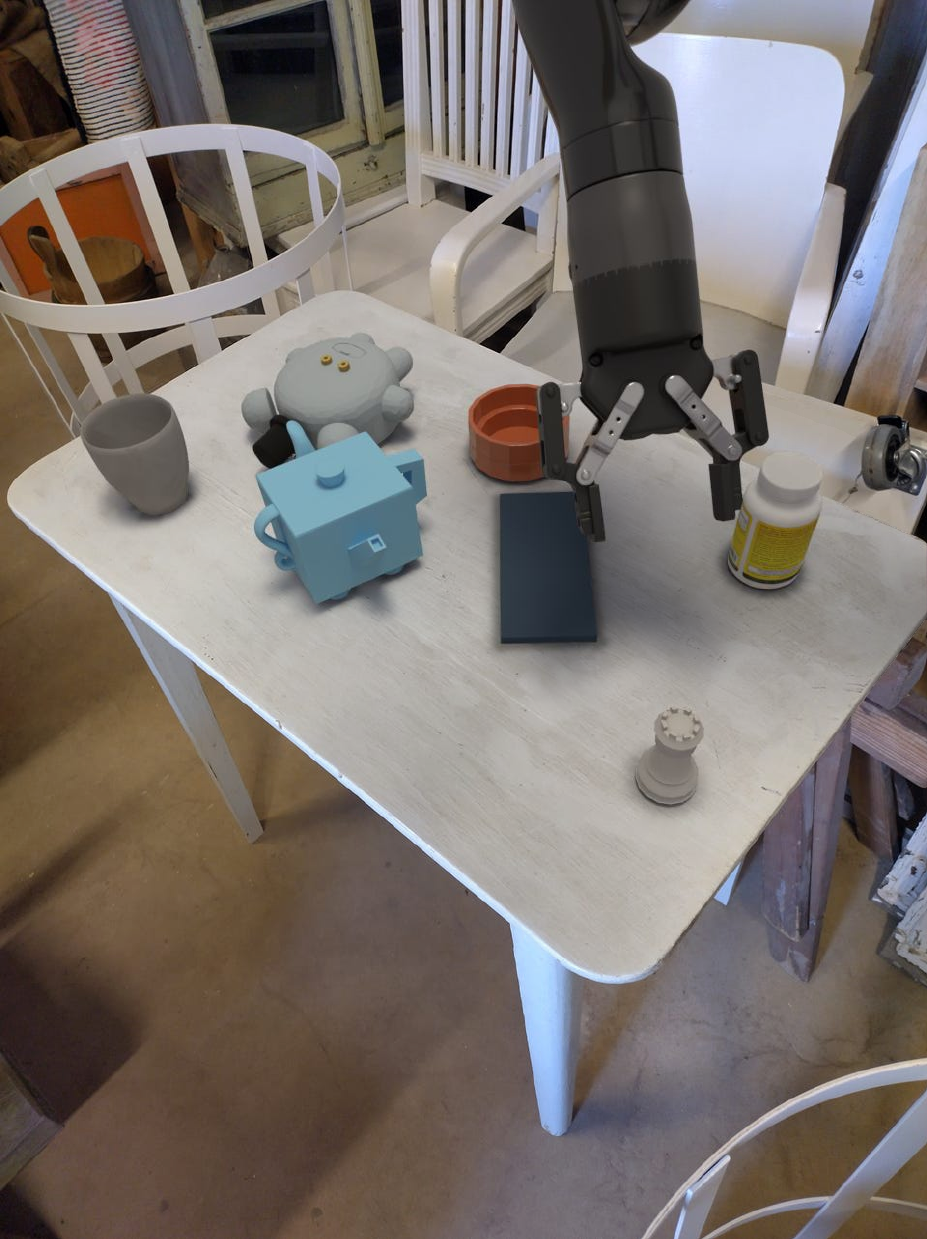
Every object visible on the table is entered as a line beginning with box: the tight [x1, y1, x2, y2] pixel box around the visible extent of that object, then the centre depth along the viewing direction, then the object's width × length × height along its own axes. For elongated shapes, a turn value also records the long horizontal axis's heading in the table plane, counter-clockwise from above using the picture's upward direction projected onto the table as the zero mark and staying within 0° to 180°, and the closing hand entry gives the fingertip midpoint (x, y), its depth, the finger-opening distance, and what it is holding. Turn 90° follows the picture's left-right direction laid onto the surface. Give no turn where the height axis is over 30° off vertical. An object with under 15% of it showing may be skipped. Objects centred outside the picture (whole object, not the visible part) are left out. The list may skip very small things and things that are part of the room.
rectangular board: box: [499, 490, 598, 644], centre depth 74 cm, size 18×8×1 cm, turn 179°
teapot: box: [253, 421, 428, 605], centre depth 72 cm, size 16×18×11 cm
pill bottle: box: [727, 451, 824, 590], centre depth 68 cm, size 6×6×11 cm
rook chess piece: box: [635, 704, 705, 805], centre depth 57 cm, size 4×4×8 cm
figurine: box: [240, 332, 415, 470], centre depth 86 cm, size 17×8×20 cm
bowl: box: [467, 383, 571, 483], centre depth 83 cm, size 10×10×5 cm
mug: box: [79, 393, 190, 516], centre depth 81 cm, size 12×9×10 cm
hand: (661, 530), depth 54 cm, fingers open, 8 cm apart
